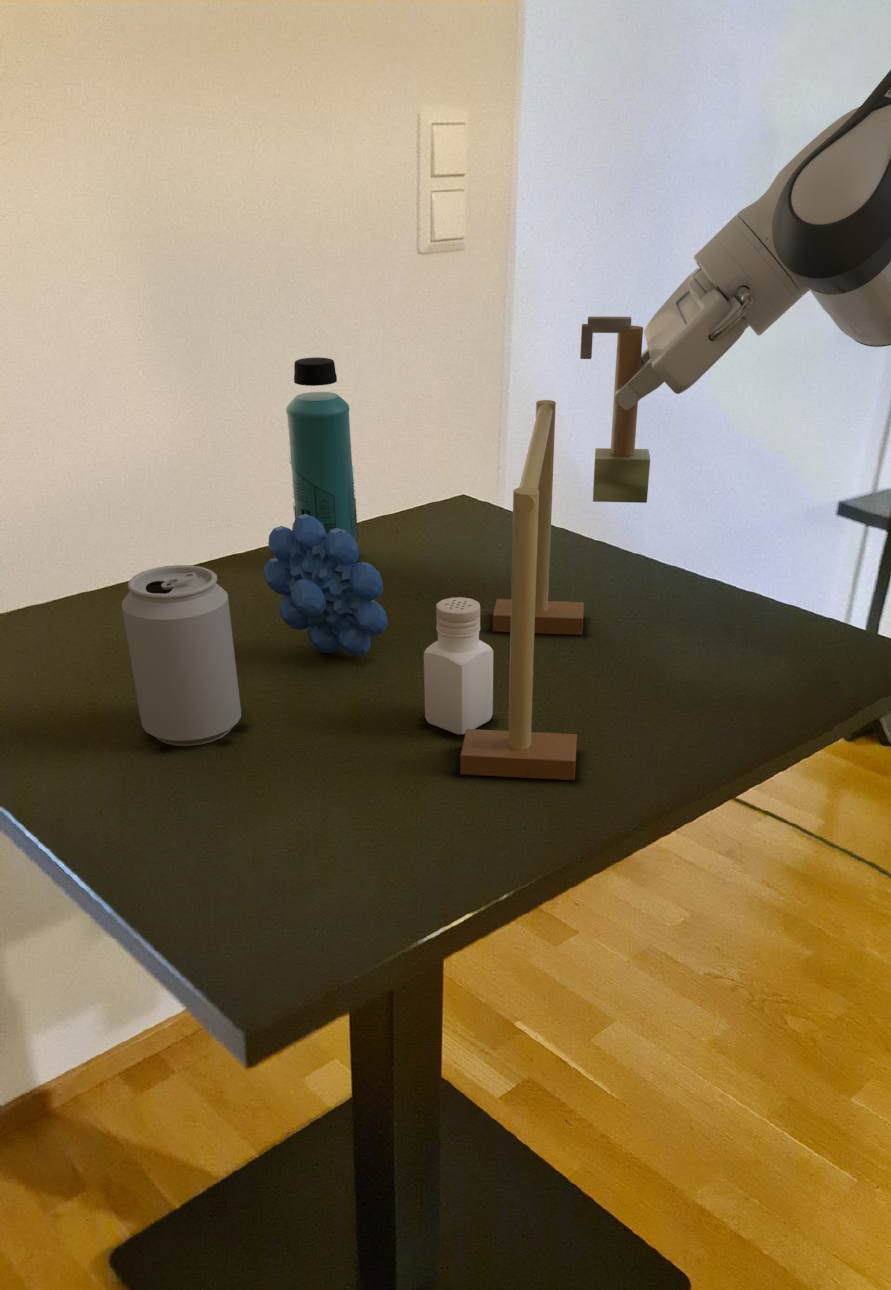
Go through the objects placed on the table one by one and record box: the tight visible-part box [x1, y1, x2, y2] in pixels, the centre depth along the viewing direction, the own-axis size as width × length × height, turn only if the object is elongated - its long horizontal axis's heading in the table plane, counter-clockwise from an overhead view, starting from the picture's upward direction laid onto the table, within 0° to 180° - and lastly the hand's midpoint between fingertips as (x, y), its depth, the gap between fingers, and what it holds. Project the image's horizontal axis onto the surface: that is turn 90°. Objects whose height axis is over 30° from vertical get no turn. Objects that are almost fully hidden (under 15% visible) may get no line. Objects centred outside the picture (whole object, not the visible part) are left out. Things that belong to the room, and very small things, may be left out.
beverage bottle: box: [285, 356, 359, 542], centre depth 114 cm, size 6×7×20 cm
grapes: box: [263, 514, 388, 657], centre depth 94 cm, size 12×7×12 cm, turn 64°
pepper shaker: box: [423, 596, 494, 735], centre depth 84 cm, size 4×4×10 cm
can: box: [121, 564, 243, 747], centre depth 83 cm, size 8×8×12 cm
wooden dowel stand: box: [459, 399, 585, 781], centre depth 87 cm, size 8×30×20 cm, turn 173°
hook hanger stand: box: [579, 316, 651, 504], centre depth 103 cm, size 7×4×16 cm, turn 83°
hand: (619, 399), depth 103 cm, fingers closed on hook hanger stand, 2 cm apart
